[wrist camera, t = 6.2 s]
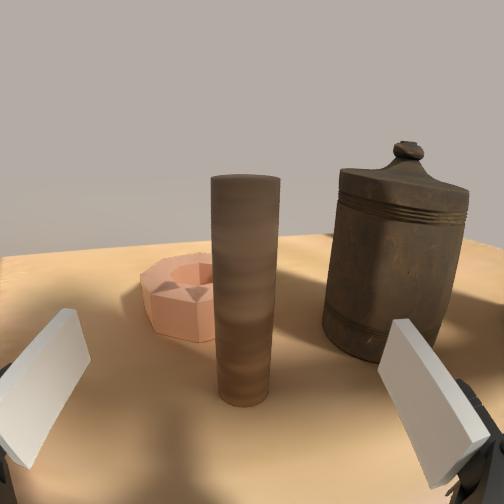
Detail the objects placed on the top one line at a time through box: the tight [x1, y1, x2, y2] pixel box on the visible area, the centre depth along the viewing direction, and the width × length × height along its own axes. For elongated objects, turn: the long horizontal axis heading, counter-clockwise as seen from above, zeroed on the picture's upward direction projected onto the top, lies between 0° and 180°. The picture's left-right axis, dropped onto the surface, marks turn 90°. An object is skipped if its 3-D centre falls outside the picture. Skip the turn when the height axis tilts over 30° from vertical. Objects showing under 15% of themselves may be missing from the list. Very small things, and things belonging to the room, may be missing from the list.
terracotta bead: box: [140, 253, 215, 343], centre depth 37 cm, size 13×13×5 cm
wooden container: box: [322, 141, 469, 363], centre depth 31 cm, size 15×15×22 cm
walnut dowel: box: [211, 174, 280, 407], centre depth 22 cm, size 4×4×18 cm
